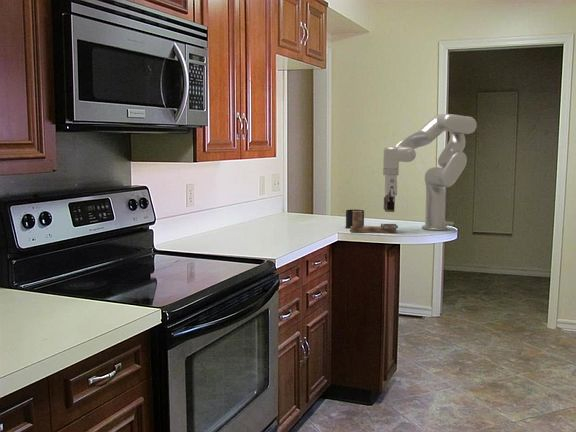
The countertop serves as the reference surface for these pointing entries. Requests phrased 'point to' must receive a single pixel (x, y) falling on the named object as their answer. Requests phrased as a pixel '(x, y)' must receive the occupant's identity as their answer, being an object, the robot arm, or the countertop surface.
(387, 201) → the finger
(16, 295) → the countertop surface
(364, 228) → the rail
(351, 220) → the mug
